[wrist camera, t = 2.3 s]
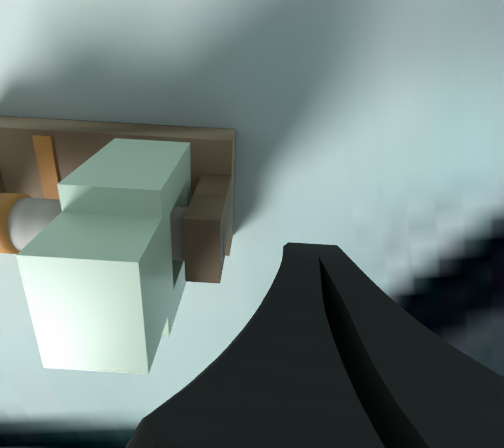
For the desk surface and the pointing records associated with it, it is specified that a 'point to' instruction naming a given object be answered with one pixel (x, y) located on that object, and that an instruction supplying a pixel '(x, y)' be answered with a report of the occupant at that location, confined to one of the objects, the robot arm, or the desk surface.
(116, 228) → the mint green stepped block
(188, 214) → the rod stand
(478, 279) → the desk surface
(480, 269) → the desk surface
